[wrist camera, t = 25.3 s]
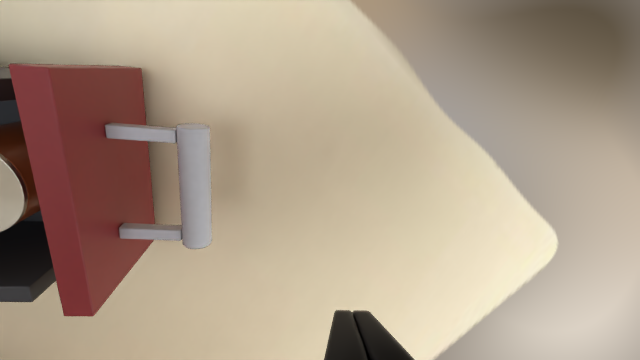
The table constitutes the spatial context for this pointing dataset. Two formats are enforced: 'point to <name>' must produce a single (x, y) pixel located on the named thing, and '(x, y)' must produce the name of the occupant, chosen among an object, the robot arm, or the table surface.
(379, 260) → the table surface
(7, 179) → the brown short cylinder
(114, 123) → the pod drawer
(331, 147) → the table surface
